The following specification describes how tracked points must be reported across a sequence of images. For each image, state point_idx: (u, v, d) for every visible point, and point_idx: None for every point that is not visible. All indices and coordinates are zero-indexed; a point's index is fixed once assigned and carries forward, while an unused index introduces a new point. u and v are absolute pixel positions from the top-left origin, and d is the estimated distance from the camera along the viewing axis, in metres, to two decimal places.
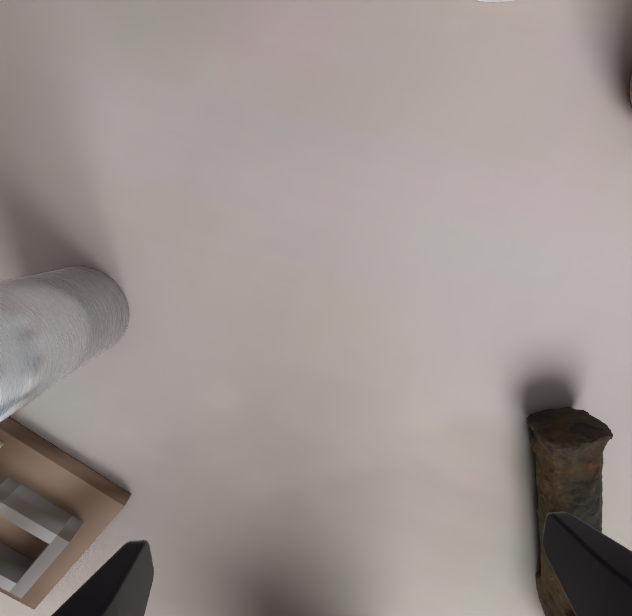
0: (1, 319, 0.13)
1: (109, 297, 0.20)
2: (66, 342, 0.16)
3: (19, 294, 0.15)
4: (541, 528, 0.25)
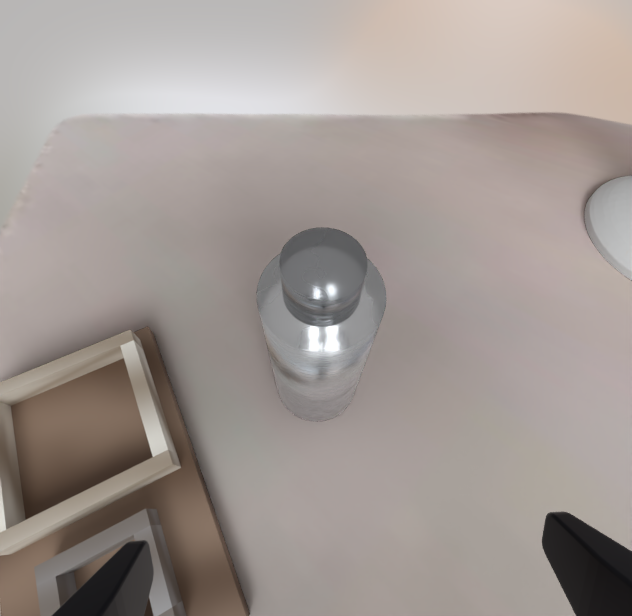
0: None
1: None
2: (365, 361, 0.19)
3: None
4: None
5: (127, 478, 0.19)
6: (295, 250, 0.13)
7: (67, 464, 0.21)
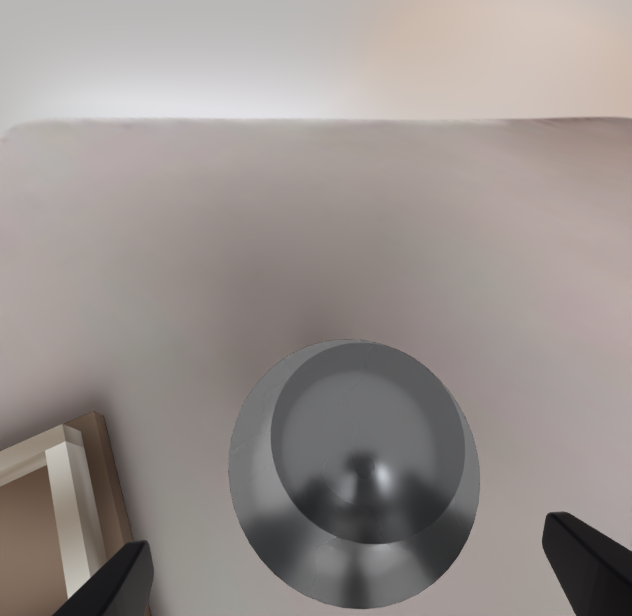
0: None
1: None
2: None
3: None
4: None
5: None
6: (305, 401, 0.06)
7: None
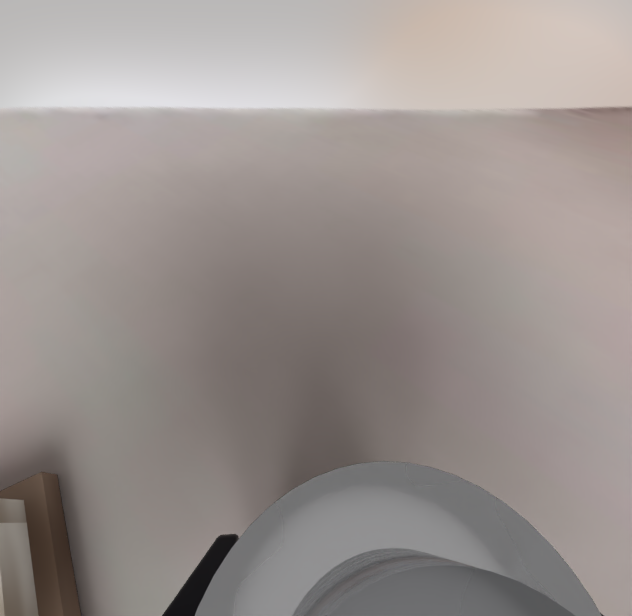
0: None
1: None
2: None
3: None
4: None
5: None
6: None
7: None
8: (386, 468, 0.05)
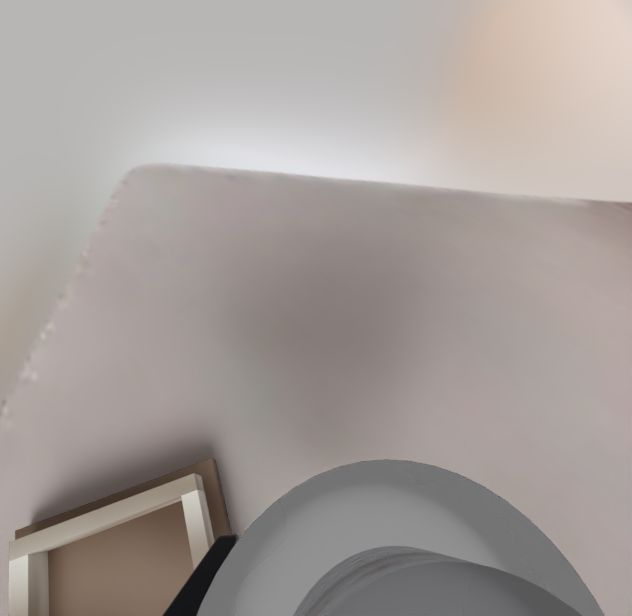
0: None
1: None
2: None
3: None
4: None
5: None
6: None
7: None
8: (388, 466, 0.05)
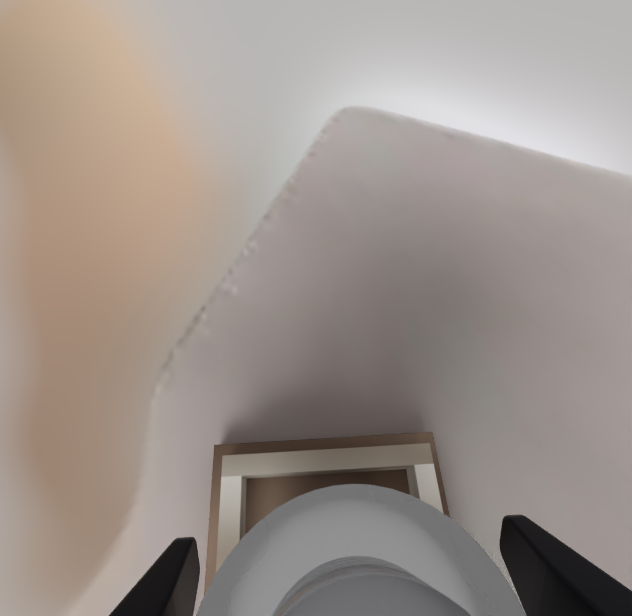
0: None
1: None
2: None
3: None
4: None
5: None
6: None
7: None
8: (354, 489, 0.06)
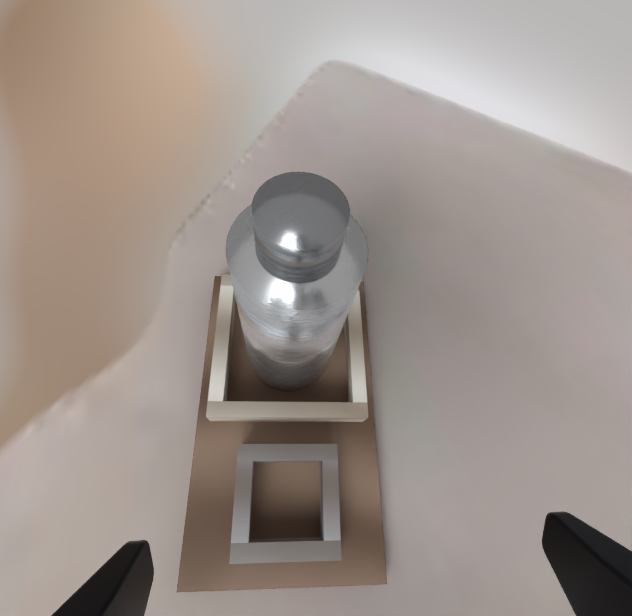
0: None
1: None
2: (341, 329, 0.17)
3: None
4: None
5: (327, 409, 0.20)
6: (271, 193, 0.12)
7: None
8: None
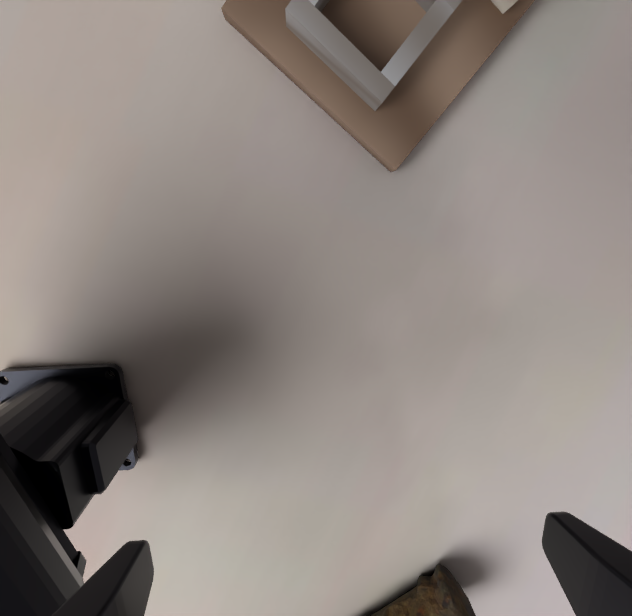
0: None
1: None
2: None
3: None
4: None
5: None
6: None
7: None
8: None
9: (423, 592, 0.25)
